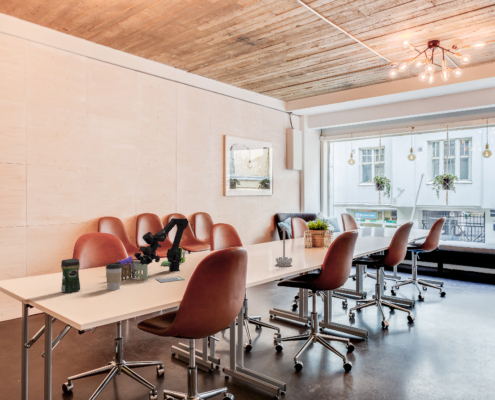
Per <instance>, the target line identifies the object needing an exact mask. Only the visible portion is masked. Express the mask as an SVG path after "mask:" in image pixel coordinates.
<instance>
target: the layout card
mask: <svg viewBox="0 0 495 400" xmlns="http://www.w3.org/2000/svg"><path fill="white" fill-rule="evenodd" d="M155 281H157V282H159V283H161V284H162V283H170V282H178V281H185V278H184V277H181V276H179V275H177V276H171V277H169V276H168V277H159V278H155Z"/></svg>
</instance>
